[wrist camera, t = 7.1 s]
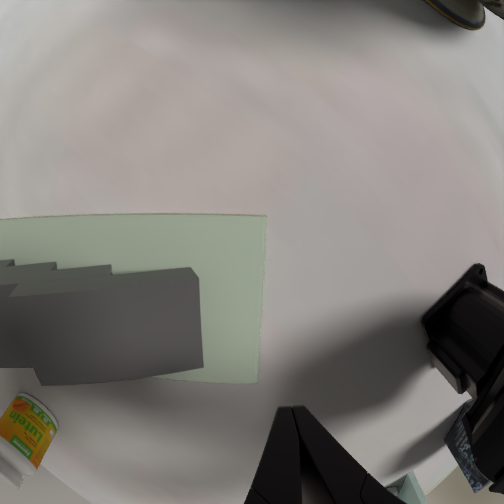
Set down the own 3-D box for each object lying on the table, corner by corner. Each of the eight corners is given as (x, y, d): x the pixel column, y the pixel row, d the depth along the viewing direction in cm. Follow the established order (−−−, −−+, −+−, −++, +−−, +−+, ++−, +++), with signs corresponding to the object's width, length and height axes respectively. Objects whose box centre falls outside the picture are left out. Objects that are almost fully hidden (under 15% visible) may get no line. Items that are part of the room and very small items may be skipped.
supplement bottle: (61, 415, 17) (23, 489, 8) (57, 435, 18) (27, 498, 9) (17, 382, 16) (-29, 446, 7) (18, 406, 17) (-18, 463, 8)
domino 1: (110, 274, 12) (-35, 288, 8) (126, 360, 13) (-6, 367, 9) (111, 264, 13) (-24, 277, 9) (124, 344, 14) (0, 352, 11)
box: (464, 401, 20) (509, 461, 9) (494, 384, 20) (538, 434, 10) (441, 441, 22) (474, 495, 12) (471, 424, 22) (504, 472, 12)
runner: (266, 215, 13) (267, 216, 13) (256, 378, 16) (257, 383, 16) (-62, 225, 12) (-65, 226, 11) (-40, 321, 14) (-42, 323, 14)
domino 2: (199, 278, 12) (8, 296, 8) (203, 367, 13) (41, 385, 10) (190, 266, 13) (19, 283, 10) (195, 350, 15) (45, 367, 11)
